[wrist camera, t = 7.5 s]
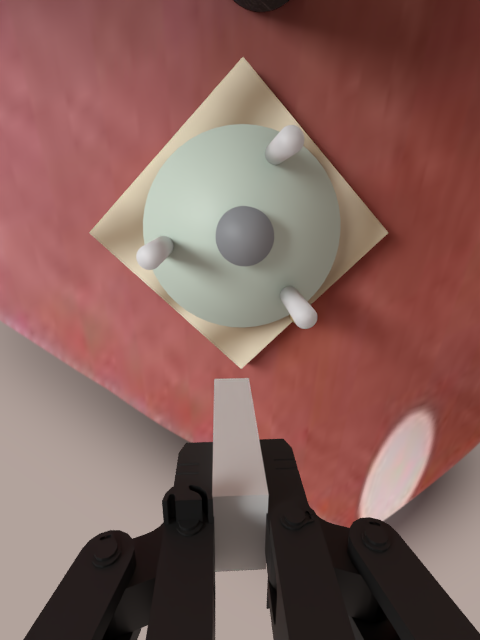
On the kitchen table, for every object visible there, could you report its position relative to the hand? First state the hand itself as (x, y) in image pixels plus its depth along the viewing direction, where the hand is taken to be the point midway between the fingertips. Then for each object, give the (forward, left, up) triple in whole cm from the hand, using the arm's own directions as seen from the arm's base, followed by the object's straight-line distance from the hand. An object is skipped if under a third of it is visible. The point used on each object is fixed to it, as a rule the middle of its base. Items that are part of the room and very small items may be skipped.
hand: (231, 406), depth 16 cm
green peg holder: (-3, +5, -17) cm, 18 cm away
